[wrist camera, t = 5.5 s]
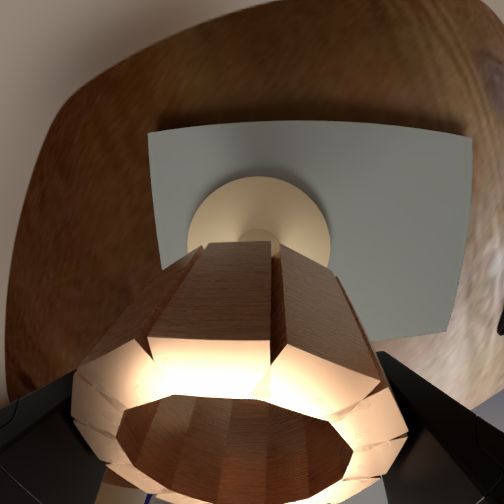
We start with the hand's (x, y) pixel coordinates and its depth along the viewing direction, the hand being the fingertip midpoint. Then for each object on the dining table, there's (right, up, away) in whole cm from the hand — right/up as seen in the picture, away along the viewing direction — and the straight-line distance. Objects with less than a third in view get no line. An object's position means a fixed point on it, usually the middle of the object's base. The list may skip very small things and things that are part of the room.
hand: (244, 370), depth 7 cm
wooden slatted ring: (0, 0, +1) cm, 1 cm away
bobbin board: (+5, +4, +11) cm, 12 cm away
